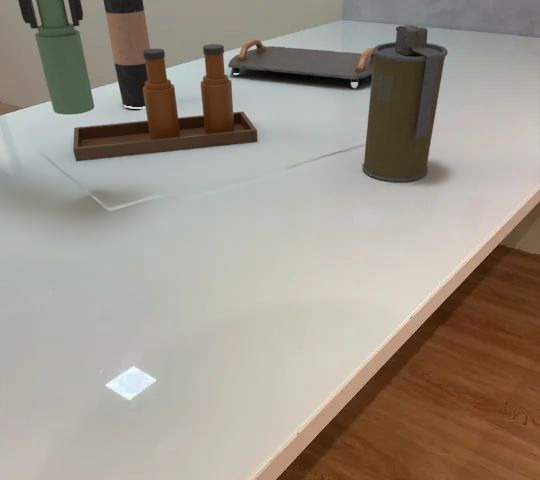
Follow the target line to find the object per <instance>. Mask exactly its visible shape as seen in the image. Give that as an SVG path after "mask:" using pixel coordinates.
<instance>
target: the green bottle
mask: <svg viewBox="0 0 540 480" xmlns="http://www.w3.org/2000/svg"><path fill="white" fill-rule="evenodd" d="M35 3H36V6H37V11H38V15H39V19H40V23H41V24H40V25H38V27H37V28H36V29H37V32H36V33H35V34H34V39H35V42H36V46H37V51H38V54H39V58H40V62H41V66H42V71H43V73H44V79H45V81H46V86H47V90H48V94H49V98H50V103H51V106H52V110H53V112H54V113H56V114H59V115H65V116H66V115H67V116H68V115H72V116H73V115H81V114H84V113H88V112H90V111H93V110H94V109H95V101H94V97H93V91H92V88H91V83H90V77H89V73H88V67H87V62H86V57H85V52H84V47H83V43H82V38H81V33H80V31H79V30H77V29H76V27H75V26H73V23H71V22H69V18H68V14H67V9H66V3H65V0H35Z"/></svg>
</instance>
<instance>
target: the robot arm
mask: <svg viewBox="0 0 540 480" xmlns="http://www.w3.org/2000/svg"><path fill="white" fill-rule="evenodd" d="M17 1H18V6H19V9H20V13H21V18H22V20H23V22H24V23H25V24H29V26H30V29H31V30H34V29H38V28H37V27H38V26H39V24H38V19H37V16H36V11H35V6H34V3H33V0H17ZM67 2H68V7H69V11H70V16H71V20H72V24H73V26H74V27H79V26H80V21H83V18H84V10H83V6H82V1H81V0H67Z"/></svg>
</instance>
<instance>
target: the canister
mask: <svg viewBox="0 0 540 480" xmlns="http://www.w3.org/2000/svg"><path fill="white" fill-rule="evenodd" d="M395 31H396V36H395V41H394V42H386V43H381V44H378V45H376V46H374V47H373V54H374V60H373V71H372V75H371V82H370V94H369V104H368V114H367V115H368V116H367V124H366V125H367V127H366V137H365V146H364V147H365V149H364V160H363V164H362V166H363V169H362V171H363V170H364V171H365V172H366V173H367V174H369V175H371V176H373V177H376V178H378V179H377V180H379V179H382V180H381V181H383V182H388V183H389V182H390V181H391V183H408V182H413V181H417V180H420V179H422V178H424V177H425V176H427V174H428V172H429V168H428V161H429V155H430V148H431V144H432V143H431V142H432V137H433V130H434V124H435V120H436V113H437V108H438V101H439V94H440V89H441V82H442V78H443V77H442V76H443V71H444V64H445V60H446V59H445V58H446V57H447V55H448V53H449V51H448V49H447V48H446V47H445V46H442V45H439V44H435V43H429V42H428V28H427V27H423V26H417V25H413V24H408V25H399V26H396V27H395ZM364 171H363V172H364ZM365 172H364V173H365ZM366 173H365V174H366ZM367 174H366V175H367ZM369 175H368V176H369ZM371 176H369V177H371ZM423 176H424V177H423ZM373 177H371V178H373ZM376 178H375V179H376ZM384 180H386V181H384Z"/></svg>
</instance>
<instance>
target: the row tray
mask: <svg viewBox="0 0 540 480" xmlns="http://www.w3.org/2000/svg"><path fill="white" fill-rule="evenodd" d="M233 117H234V131H231V132H221V133H211V134H205V127H204V116H203V114H202V115H192V116H181V117H180V116H179V117H178V121H179V129H180V137H172V138H162V139H152V140H151V139H150V133H149V126H148V120H140V121H139V120H138V121H129V122H118V123H108V124H97V125H87V126H78V127H77V126H76V127H74V128H73V144H72V151H73V155H74V158H75V161H76V162H82V161H84V162H85V161H92V160H101V159H111V158H121V157H129V156H130V157H131V156H138V155H147V154H159V153H167V152H175V151H186V150H195V149H204V148H205V149H206V148H214V147H223V146H231V145H242V144H243V145H244V144H252V143H258V130H257V128H256V127H255V125H254V124H253V122H251V120H250V118H249V117H248V116H247V114H246V113H245V112H244V111H233Z"/></svg>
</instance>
